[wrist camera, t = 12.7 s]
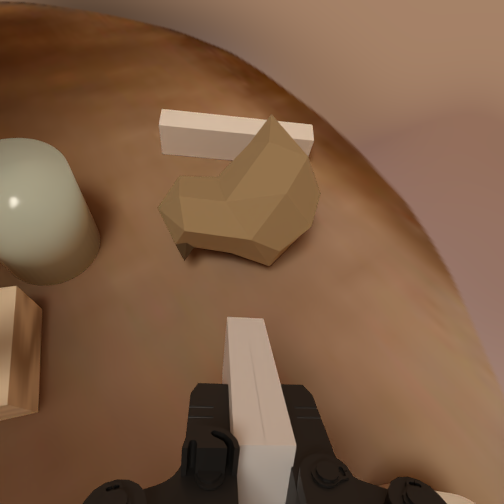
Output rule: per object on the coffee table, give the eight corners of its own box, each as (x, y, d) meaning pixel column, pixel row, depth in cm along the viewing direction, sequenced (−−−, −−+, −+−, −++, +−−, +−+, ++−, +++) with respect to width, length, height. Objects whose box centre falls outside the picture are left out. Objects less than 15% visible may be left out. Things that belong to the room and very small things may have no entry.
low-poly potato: (310, 193, 40) (235, 115, 37) (375, 176, 30) (279, 65, 26) (225, 299, 37) (135, 224, 34) (264, 322, 26) (140, 216, 23)
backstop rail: (304, 166, 41) (314, 140, 38) (162, 153, 39) (158, 125, 36) (303, 151, 42) (312, 124, 39) (165, 138, 41) (161, 108, 37)
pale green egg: (6, 215, 33) (-52, 143, 26) (97, 204, 35) (68, 133, 27) (1, 293, 30) (-69, 237, 22) (103, 276, 32) (71, 218, 24)
